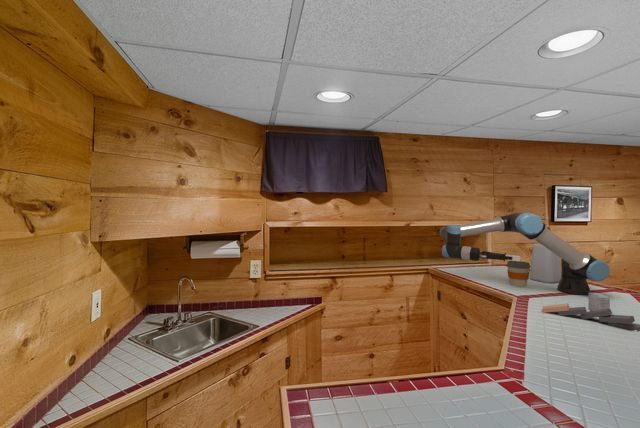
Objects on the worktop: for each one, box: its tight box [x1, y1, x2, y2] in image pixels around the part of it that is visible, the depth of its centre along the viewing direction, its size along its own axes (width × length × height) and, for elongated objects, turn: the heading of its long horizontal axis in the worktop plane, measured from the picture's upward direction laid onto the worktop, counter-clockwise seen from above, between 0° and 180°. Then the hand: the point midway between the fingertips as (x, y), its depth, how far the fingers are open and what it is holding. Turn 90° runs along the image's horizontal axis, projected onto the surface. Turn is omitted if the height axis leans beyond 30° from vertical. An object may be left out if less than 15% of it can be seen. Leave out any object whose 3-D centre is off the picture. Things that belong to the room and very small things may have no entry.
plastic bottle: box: [529, 242, 561, 284], centre depth 209 cm, size 15×15×28 cm
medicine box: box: [588, 292, 611, 311], centre depth 146 cm, size 8×4×9 cm, turn 168°
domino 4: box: [608, 322, 640, 332], centre depth 129 cm, size 2×5×10 cm
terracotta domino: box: [541, 303, 571, 314], centre depth 146 cm, size 2×5×10 cm
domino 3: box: [598, 314, 636, 324], centre depth 130 cm, size 2×5×10 cm
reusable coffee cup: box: [506, 260, 531, 288], centre depth 197 cm, size 12×13×15 cm
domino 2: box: [579, 307, 613, 320], centre depth 136 cm, size 2×5×10 cm
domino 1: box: [557, 306, 588, 316], centre depth 142 cm, size 2×5×10 cm
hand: (520, 258), depth 156 cm, fingers closed
